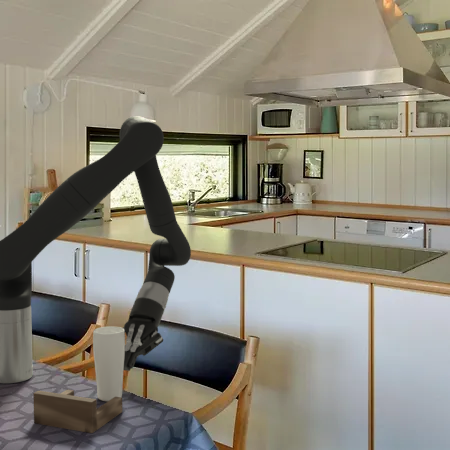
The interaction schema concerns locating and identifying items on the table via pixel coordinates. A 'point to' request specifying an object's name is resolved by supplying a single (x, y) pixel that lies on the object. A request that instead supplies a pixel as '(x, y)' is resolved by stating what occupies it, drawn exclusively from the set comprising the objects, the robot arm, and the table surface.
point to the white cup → (109, 361)
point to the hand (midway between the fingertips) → (125, 368)
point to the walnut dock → (73, 411)
